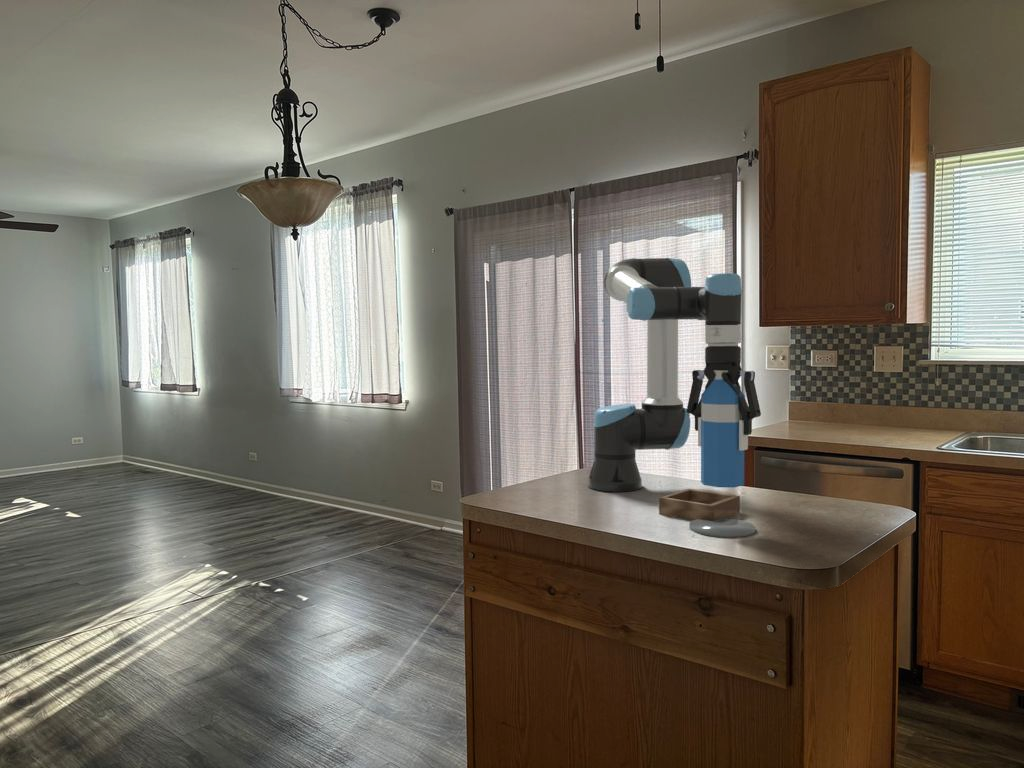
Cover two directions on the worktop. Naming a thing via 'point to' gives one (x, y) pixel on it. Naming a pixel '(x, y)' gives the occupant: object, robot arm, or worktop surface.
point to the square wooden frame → (699, 504)
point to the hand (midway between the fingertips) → (722, 447)
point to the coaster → (722, 527)
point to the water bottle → (721, 435)
